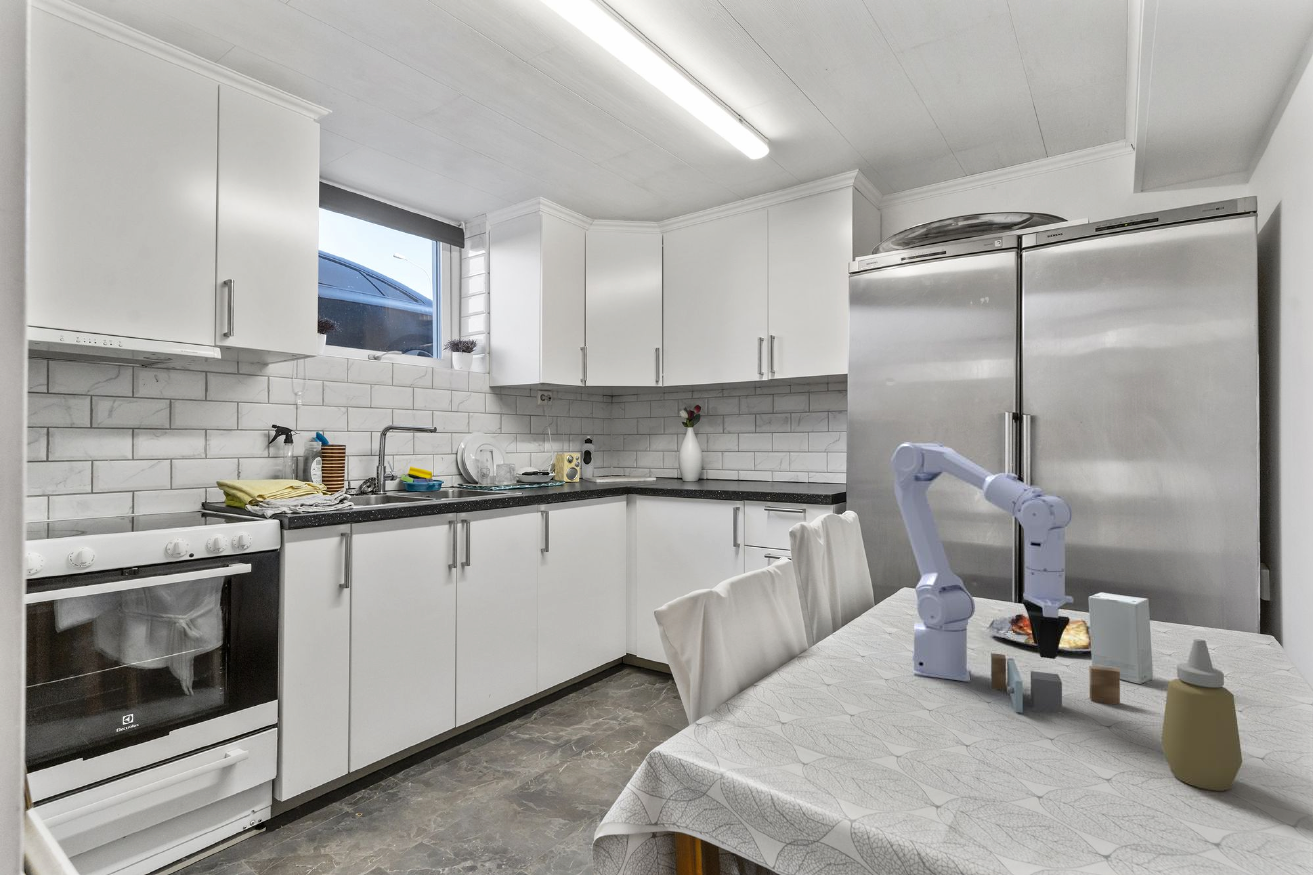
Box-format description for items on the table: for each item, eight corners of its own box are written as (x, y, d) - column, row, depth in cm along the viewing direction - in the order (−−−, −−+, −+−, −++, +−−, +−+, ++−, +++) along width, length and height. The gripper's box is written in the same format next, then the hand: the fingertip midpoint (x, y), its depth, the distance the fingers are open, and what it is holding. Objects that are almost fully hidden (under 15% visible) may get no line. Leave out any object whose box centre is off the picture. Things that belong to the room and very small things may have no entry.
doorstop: (1033, 709, 107) (1033, 678, 107) (1030, 700, 111) (1030, 670, 111) (1062, 713, 105) (1061, 682, 105) (1058, 704, 109) (1058, 674, 109)
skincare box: (1153, 679, 121) (1153, 598, 121) (1139, 685, 117) (1139, 603, 118) (1102, 666, 128) (1102, 590, 128) (1088, 672, 124) (1087, 594, 125)
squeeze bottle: (1145, 766, 88) (1144, 632, 88) (1200, 763, 88) (1199, 630, 89) (1200, 798, 80) (1199, 651, 80) (1260, 795, 80) (1259, 649, 81)
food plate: (999, 618, 162) (999, 604, 162) (1113, 636, 149) (1113, 620, 149) (981, 646, 142) (981, 630, 142) (1111, 669, 128) (1111, 651, 128)
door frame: (992, 688, 116) (991, 657, 116) (991, 683, 118) (991, 653, 118) (1120, 705, 108) (1120, 672, 108) (1117, 700, 110) (1116, 667, 111)
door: (1000, 685, 117) (1000, 657, 117) (1013, 686, 116) (1013, 658, 116) (1008, 710, 106) (1008, 679, 106) (1022, 712, 105) (1022, 681, 105)
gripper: (1081, 579, 100) (1081, 667, 100) (1065, 563, 113) (1065, 641, 113) (1028, 574, 103) (1028, 661, 103) (1019, 560, 116) (1018, 636, 116)
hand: (1044, 650), depth 108 cm, fingers open, 7 cm apart
